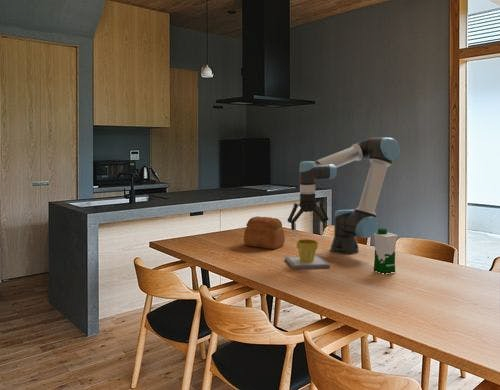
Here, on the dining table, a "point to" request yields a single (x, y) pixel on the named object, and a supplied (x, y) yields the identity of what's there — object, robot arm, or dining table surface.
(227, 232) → the dining table surface
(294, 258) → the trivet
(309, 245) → the plant pot
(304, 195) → the robot arm
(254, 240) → the bread
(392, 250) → the milk carton
